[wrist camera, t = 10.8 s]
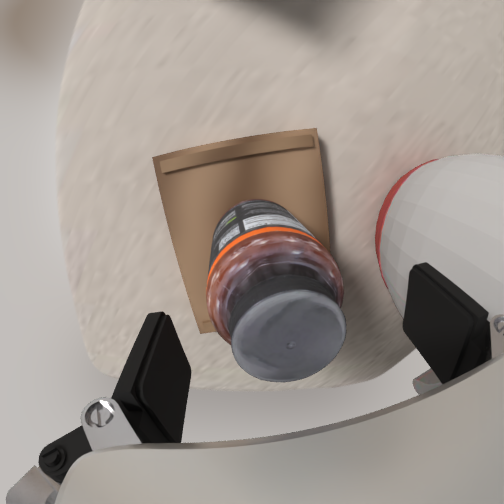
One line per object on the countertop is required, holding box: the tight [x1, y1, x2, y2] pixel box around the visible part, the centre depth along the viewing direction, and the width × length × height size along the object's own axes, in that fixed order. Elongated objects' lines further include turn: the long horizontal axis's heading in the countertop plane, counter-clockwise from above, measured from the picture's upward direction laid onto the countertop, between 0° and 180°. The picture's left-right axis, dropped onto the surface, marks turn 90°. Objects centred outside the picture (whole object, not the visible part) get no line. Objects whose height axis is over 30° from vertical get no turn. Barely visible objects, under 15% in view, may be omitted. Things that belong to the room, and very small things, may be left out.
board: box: [152, 128, 330, 334], centre depth 20 cm, size 11×14×2 cm
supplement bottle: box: [206, 199, 346, 382], centre depth 14 cm, size 6×6×11 cm
